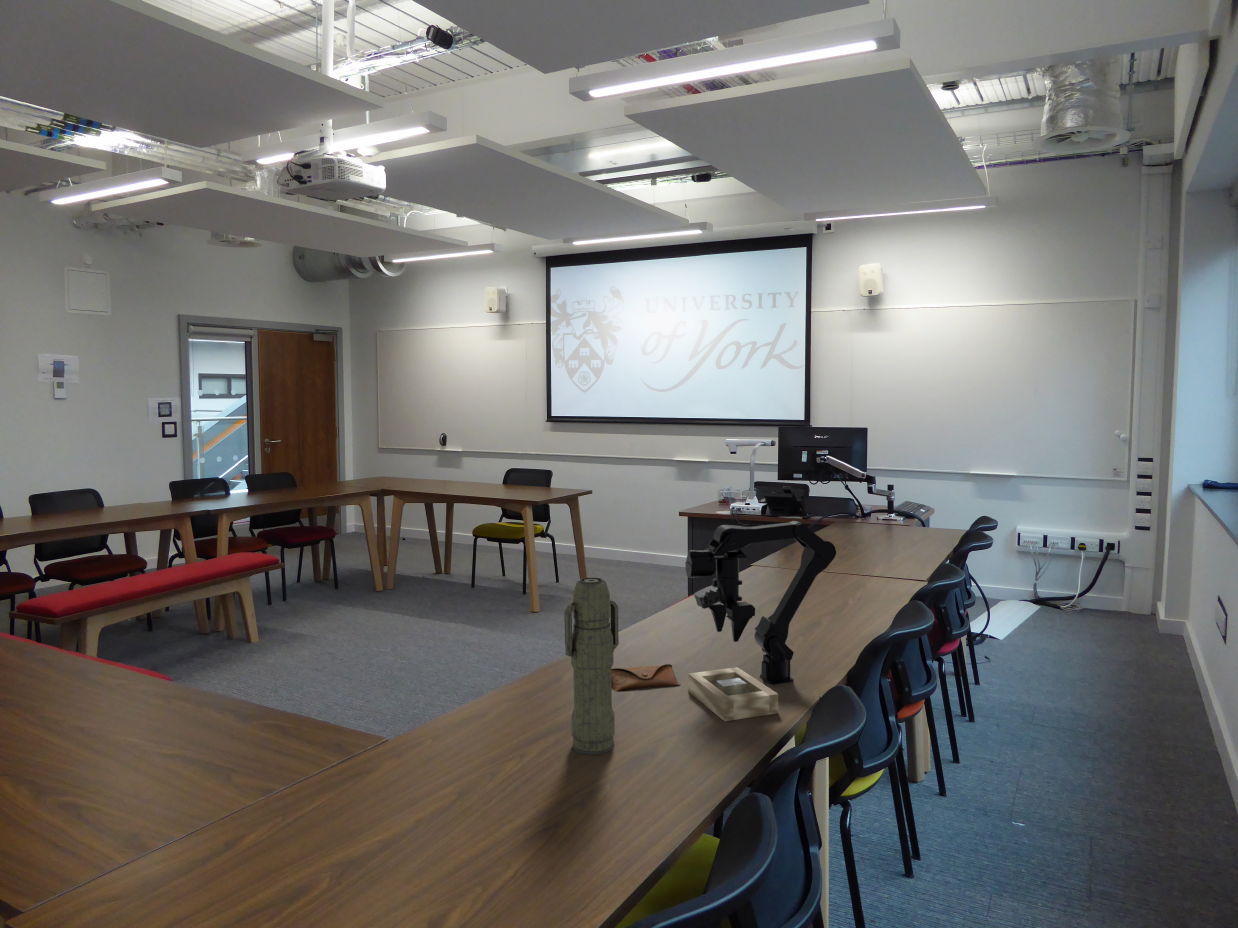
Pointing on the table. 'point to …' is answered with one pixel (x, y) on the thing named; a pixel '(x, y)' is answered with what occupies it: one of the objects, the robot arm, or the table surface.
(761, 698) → the well
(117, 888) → the table surface
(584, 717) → the thermos
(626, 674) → the sunglasses case
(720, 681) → the grey rectangular block
